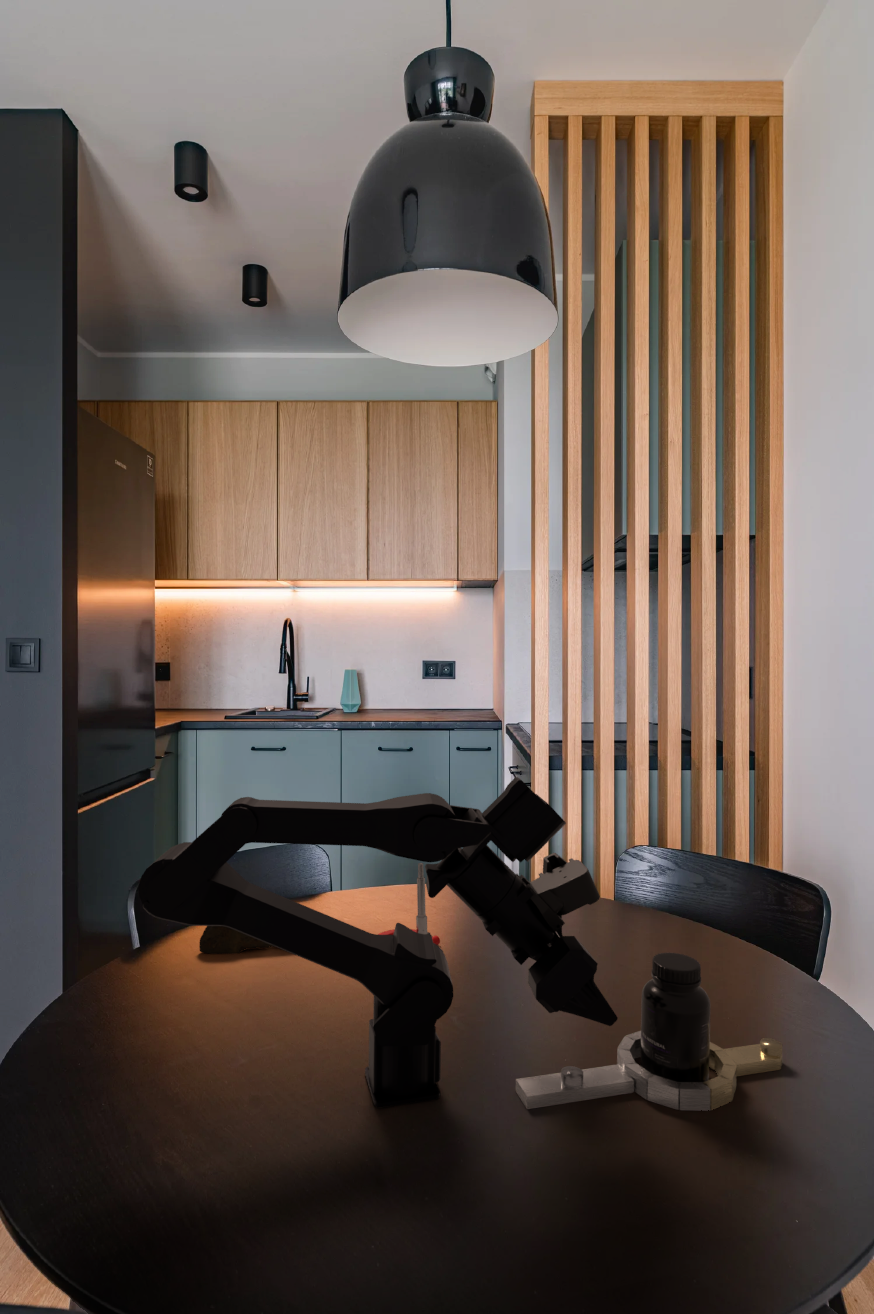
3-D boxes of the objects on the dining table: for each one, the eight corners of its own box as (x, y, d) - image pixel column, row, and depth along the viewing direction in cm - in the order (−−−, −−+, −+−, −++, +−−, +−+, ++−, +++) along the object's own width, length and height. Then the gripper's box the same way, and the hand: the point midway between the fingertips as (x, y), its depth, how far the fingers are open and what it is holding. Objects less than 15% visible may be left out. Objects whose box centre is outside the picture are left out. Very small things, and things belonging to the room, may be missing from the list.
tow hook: (362, 947, 109) (407, 961, 103) (360, 861, 110) (405, 870, 104) (400, 932, 115) (444, 944, 109) (398, 851, 116) (442, 859, 110)
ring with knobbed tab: (708, 1111, 69) (708, 1090, 69) (643, 1047, 80) (643, 1029, 80) (821, 1092, 72) (821, 1072, 72) (743, 1033, 84) (743, 1016, 84)
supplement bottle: (634, 1085, 73) (635, 966, 73) (646, 1053, 79) (647, 943, 79) (706, 1104, 70) (707, 980, 70) (713, 1069, 76) (713, 955, 76)
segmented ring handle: (545, 1138, 65) (545, 1116, 65) (500, 1067, 76) (500, 1048, 76) (713, 1110, 69) (713, 1089, 69) (647, 1047, 80) (647, 1029, 80)
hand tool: (330, 940, 111) (330, 910, 111) (331, 950, 107) (331, 918, 107) (202, 948, 108) (202, 917, 108) (198, 959, 104) (199, 926, 104)
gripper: (575, 862, 65) (693, 983, 65) (531, 817, 83) (623, 912, 84) (487, 952, 64) (607, 1073, 65) (462, 886, 82) (555, 981, 83)
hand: (599, 999), depth 74 cm, fingers open, 9 cm apart
